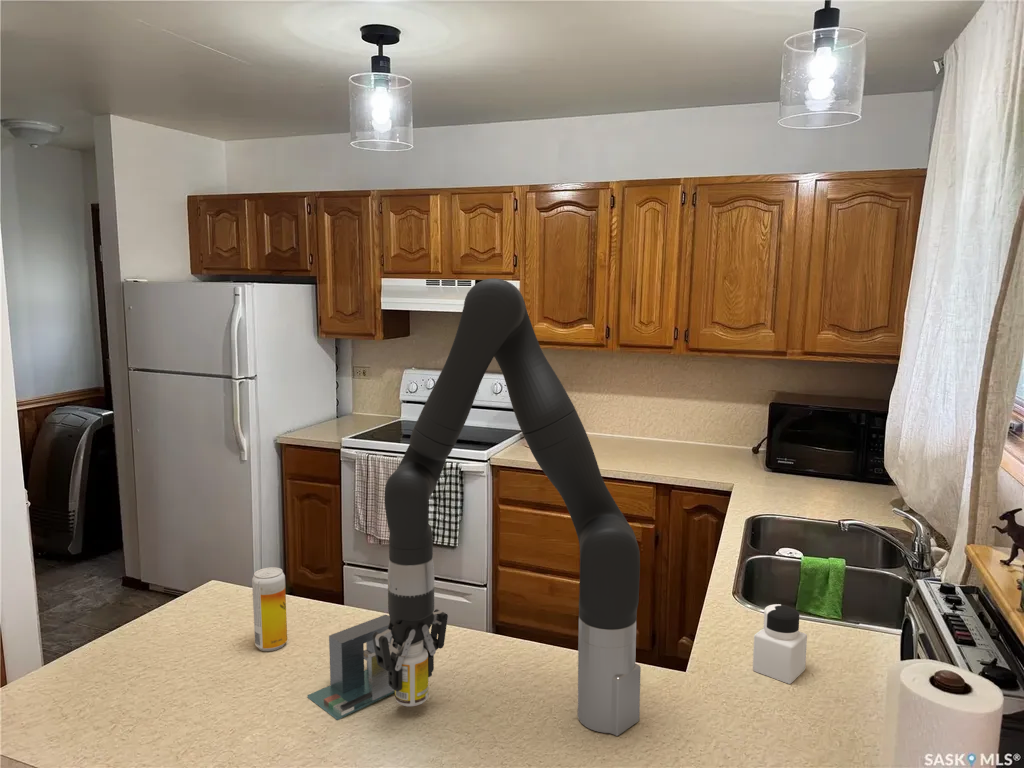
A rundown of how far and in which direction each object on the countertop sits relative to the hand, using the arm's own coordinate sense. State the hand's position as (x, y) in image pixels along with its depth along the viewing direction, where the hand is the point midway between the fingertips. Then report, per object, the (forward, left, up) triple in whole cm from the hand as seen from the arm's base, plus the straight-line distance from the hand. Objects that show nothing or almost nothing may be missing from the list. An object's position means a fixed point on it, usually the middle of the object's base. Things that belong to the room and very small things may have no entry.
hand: (411, 681), depth 119 cm
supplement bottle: (0, 0, -3) cm, 3 cm away
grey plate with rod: (+10, +3, -4) cm, 11 cm away
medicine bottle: (-38, -56, -5) cm, 67 cm away
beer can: (+38, +6, -5) cm, 39 cm away
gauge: (+11, +2, -5) cm, 12 cm away
